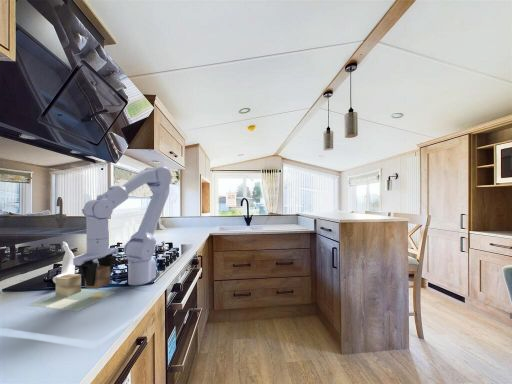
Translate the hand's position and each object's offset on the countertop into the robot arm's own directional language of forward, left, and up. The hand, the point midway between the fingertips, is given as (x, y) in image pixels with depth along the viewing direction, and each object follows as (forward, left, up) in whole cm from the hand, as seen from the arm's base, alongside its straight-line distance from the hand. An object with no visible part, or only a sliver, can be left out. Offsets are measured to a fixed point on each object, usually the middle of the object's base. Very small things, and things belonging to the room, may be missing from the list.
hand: (97, 282), depth 77 cm
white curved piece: (-9, -23, -6) cm, 25 cm away
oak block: (0, -11, -4) cm, 12 cm away
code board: (+3, -6, -5) cm, 8 cm away
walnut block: (0, 0, -1) cm, 1 cm away
